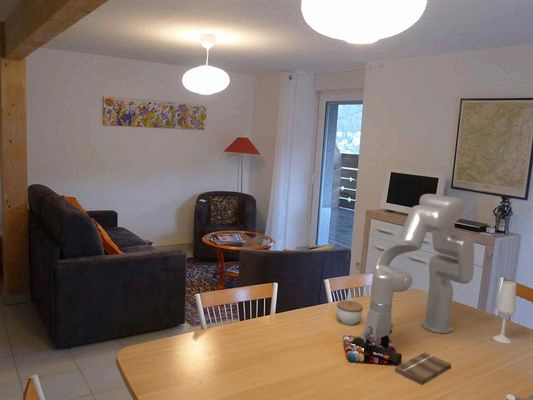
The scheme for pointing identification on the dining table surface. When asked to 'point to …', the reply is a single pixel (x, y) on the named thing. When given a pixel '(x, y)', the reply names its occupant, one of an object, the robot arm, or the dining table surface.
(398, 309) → the dining table surface
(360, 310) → the lidded jar
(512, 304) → the champagne flute
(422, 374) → the board
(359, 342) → the hand tool
